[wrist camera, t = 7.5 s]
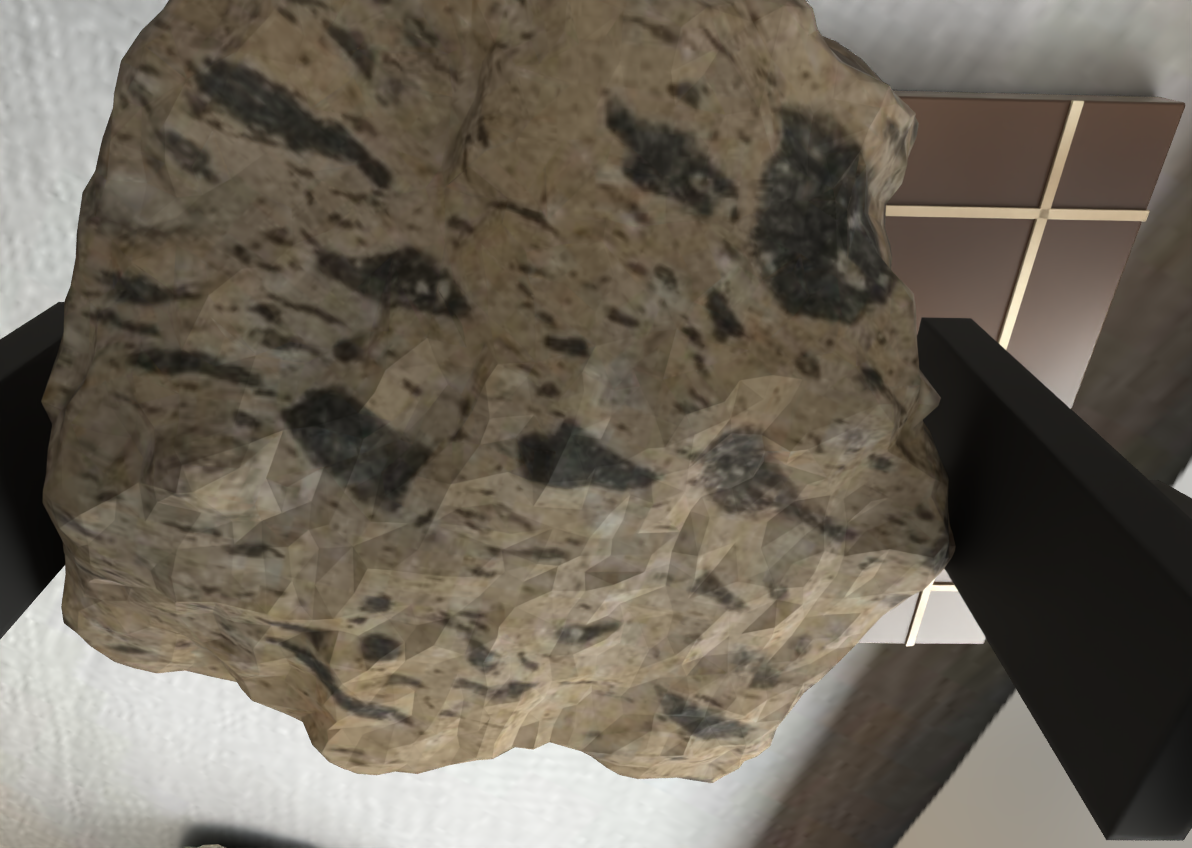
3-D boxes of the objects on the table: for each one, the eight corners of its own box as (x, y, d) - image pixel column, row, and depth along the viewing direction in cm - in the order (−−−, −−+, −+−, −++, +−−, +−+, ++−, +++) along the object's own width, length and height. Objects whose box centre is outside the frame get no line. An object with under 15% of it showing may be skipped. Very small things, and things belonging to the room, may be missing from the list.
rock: (1070, 182, 11) (1326, 301, 7) (671, 695, 16) (700, 918, 13) (289, -275, 8) (57, -460, 5) (113, 516, 14) (-62, 731, 10)
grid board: (442, 79, 22) (433, 86, 20) (1159, 96, 22) (1192, 103, 21) (479, 619, 32) (475, 644, 30) (971, 622, 32) (986, 648, 31)
